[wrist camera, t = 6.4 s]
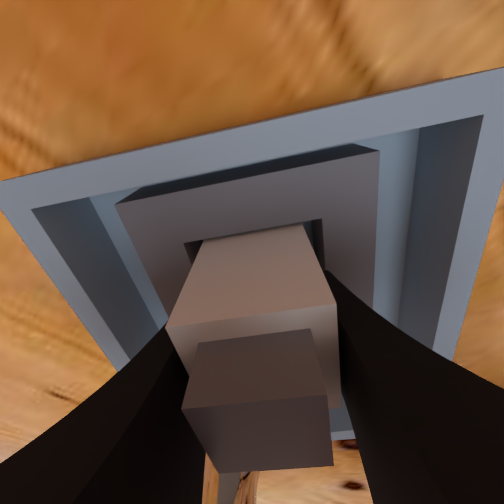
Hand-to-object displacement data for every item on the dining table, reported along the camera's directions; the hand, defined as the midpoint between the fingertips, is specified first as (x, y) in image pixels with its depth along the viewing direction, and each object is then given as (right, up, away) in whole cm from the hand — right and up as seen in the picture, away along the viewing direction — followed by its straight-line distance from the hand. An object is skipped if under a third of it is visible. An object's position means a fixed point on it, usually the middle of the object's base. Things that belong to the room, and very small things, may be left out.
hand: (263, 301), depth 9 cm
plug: (0, +2, +2) cm, 2 cm away
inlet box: (+1, -1, +5) cm, 5 cm away
